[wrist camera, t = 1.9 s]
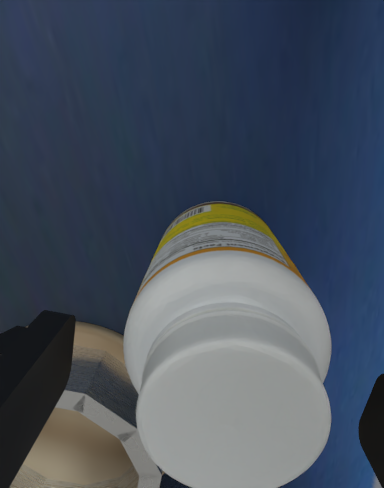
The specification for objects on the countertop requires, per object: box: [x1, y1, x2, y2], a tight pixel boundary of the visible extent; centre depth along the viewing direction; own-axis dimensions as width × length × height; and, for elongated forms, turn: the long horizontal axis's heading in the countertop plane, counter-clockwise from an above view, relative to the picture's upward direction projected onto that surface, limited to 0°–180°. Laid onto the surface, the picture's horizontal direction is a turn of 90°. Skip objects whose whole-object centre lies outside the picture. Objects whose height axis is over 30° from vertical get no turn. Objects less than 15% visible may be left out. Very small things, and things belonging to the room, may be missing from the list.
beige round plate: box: [23, 321, 165, 485], centre depth 19 cm, size 12×12×1 cm
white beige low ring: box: [9, 345, 162, 488], centre depth 18 cm, size 10×10×3 cm
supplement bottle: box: [123, 201, 331, 488], centre depth 12 cm, size 6×6×10 cm
